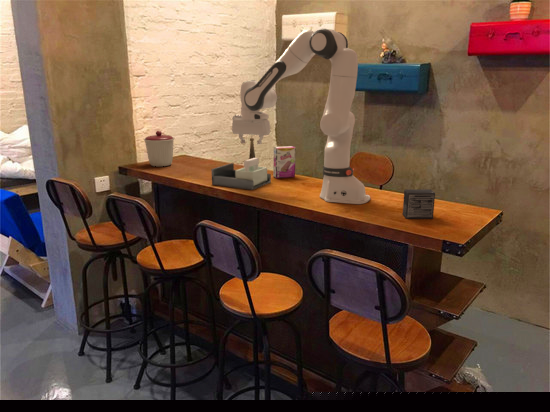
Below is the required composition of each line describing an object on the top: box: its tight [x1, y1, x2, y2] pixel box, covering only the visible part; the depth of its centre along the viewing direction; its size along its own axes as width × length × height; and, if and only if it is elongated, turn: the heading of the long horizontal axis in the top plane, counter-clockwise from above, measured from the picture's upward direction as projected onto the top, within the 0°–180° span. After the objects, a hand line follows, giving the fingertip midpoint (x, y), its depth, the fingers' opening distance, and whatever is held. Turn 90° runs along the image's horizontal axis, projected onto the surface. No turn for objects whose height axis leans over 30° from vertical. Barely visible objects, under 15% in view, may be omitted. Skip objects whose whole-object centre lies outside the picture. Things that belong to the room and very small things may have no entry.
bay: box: [211, 162, 272, 191], centre depth 230 cm, size 24×18×8 cm
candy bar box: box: [272, 145, 297, 179], centre depth 243 cm, size 11×5×16 cm, turn 110°
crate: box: [234, 157, 268, 186], centre depth 226 cm, size 10×14×12 cm
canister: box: [143, 130, 175, 168], centre depth 275 cm, size 18×18×21 cm
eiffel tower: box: [248, 137, 256, 159], centre depth 244 cm, size 11×11×25 cm
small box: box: [402, 188, 436, 220], centre depth 175 cm, size 11×6×10 cm, turn 88°
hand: (251, 143), depth 222 cm, fingers open, 8 cm apart
